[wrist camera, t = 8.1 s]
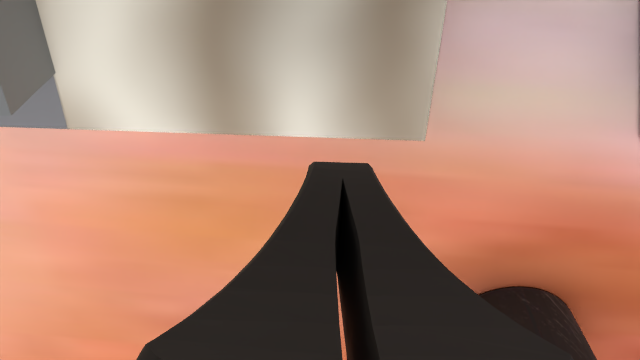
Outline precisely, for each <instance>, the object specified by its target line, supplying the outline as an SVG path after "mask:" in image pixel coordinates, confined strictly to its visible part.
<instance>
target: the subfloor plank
mask: <svg viewBox="0 0 640 360" xmlns="http://www.w3.org/2000/svg"><path fill="white" fill-rule="evenodd" d="M36 4H37V8H38V11H39V15H40V18H41V22H42V26H43V29H44V33H45V36H46V40H47V44H48V47H49V51H50V55H51V58H52V62H53V65H54V69H55V74H54V75H53V76H55V77H54V79H56V81H55V83H57V84H56V85H57V91H58V94H59V98H60V100H61V101H60V102H61V106H62V105H63V106H62V109H63V108H64V109H63V111H64V112H63V113H64V117H65V120H66V122H67V123H66V124H67V128H68V129H81V130H112V131H142V132H172V133H203V134H233V135H263V136H294V137H324V138H354V139H385V140H415V141H425V138H426V131H427V125H428V119H429V112H430V106H431V100H432V94H433V87H434V81H435V75H436V68H437V62H438V56H439V50H440V43H441V37H442V31H443V25H444V18H445V12H446V6H447V0H36Z"/></svg>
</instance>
